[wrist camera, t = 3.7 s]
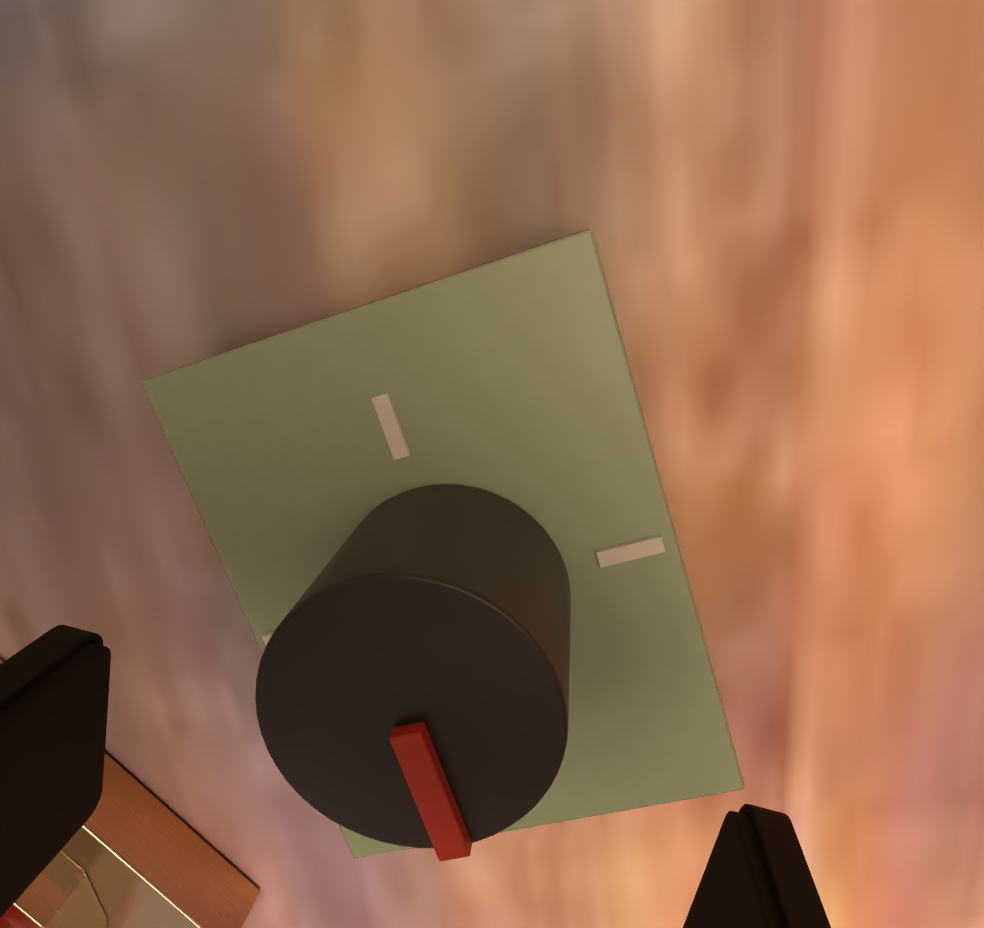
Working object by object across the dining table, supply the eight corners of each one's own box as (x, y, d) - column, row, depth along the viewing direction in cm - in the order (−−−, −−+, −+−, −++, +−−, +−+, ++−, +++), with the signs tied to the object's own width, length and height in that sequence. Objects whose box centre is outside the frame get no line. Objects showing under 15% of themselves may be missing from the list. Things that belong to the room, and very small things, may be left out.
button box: (-145, 804, 24) (-281, 908, 20) (-2, 655, 22) (-125, 741, 18) (100, 1007, 26) (17, 1139, 22) (261, 889, 23) (199, 1015, 19)
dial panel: (207, 360, 18) (134, 382, 15) (589, 232, 16) (591, 227, 13) (383, 778, 21) (351, 865, 18) (721, 711, 19) (747, 795, 16)
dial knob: (305, 517, 16) (193, 626, 11) (530, 454, 15) (509, 545, 10) (386, 716, 17) (316, 885, 12) (599, 669, 16) (607, 836, 12)
